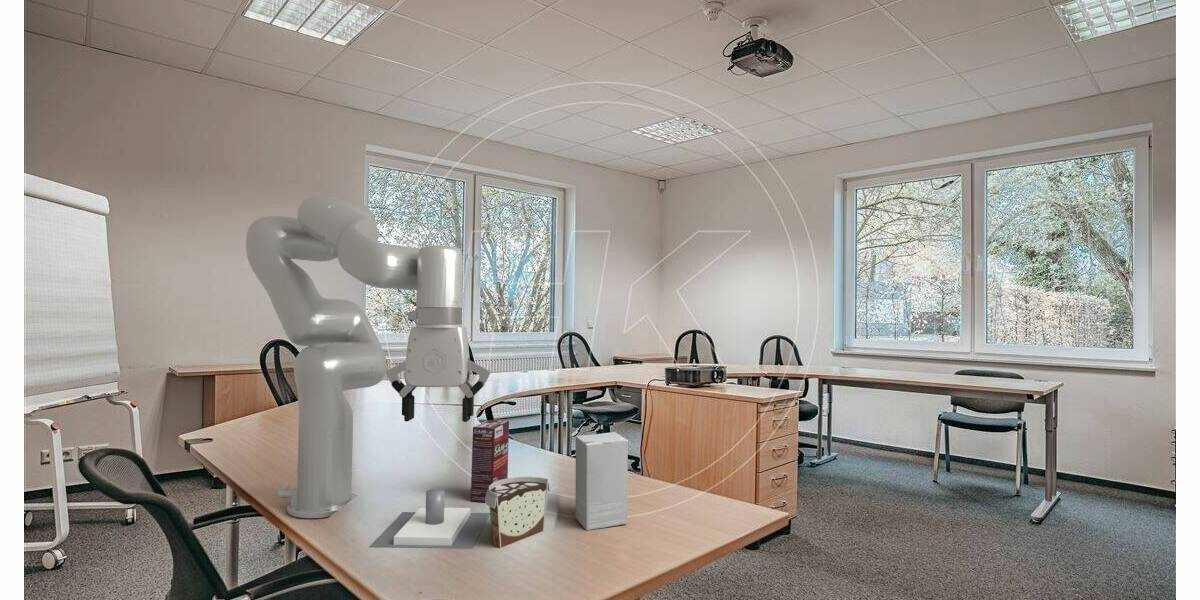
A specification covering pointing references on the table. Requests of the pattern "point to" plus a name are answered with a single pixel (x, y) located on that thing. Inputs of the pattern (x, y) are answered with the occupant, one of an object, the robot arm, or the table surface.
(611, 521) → the skincare box
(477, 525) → the mat
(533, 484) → the food container
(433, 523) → the lid
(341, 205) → the robot arm
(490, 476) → the supplement box
